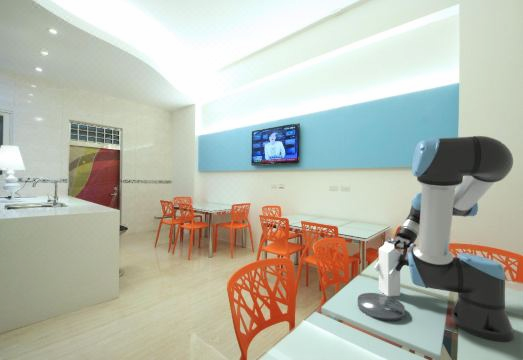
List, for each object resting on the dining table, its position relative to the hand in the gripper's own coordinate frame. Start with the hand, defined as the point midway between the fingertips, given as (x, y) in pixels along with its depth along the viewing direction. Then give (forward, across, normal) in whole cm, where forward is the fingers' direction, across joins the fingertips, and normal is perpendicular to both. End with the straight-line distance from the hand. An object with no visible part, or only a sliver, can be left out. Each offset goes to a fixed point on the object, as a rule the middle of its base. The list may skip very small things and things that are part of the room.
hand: (383, 272), depth 102 cm
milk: (+4, 0, -9) cm, 10 cm away
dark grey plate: (+15, -8, +1) cm, 17 cm away
